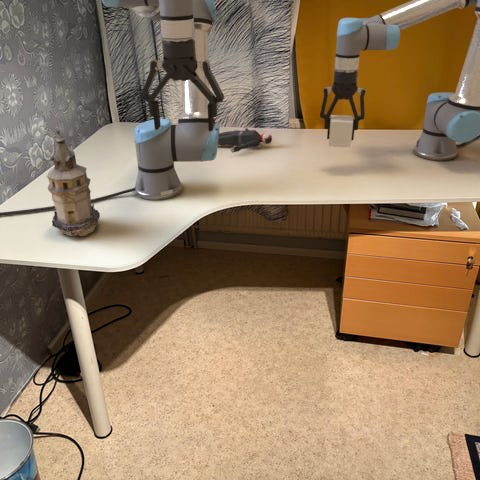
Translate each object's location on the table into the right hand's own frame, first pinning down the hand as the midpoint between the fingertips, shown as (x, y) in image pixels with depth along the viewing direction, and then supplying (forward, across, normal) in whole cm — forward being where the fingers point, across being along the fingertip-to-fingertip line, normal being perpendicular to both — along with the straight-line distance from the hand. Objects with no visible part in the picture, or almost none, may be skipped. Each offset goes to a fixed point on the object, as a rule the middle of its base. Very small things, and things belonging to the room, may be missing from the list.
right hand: (340, 138), depth 184 cm
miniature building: (+13, +74, +53) cm, 92 cm away
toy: (+13, +41, -23) cm, 49 cm away
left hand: (-19, +39, +55) cm, 70 cm away
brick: (+2, 0, 0) cm, 2 cm away
